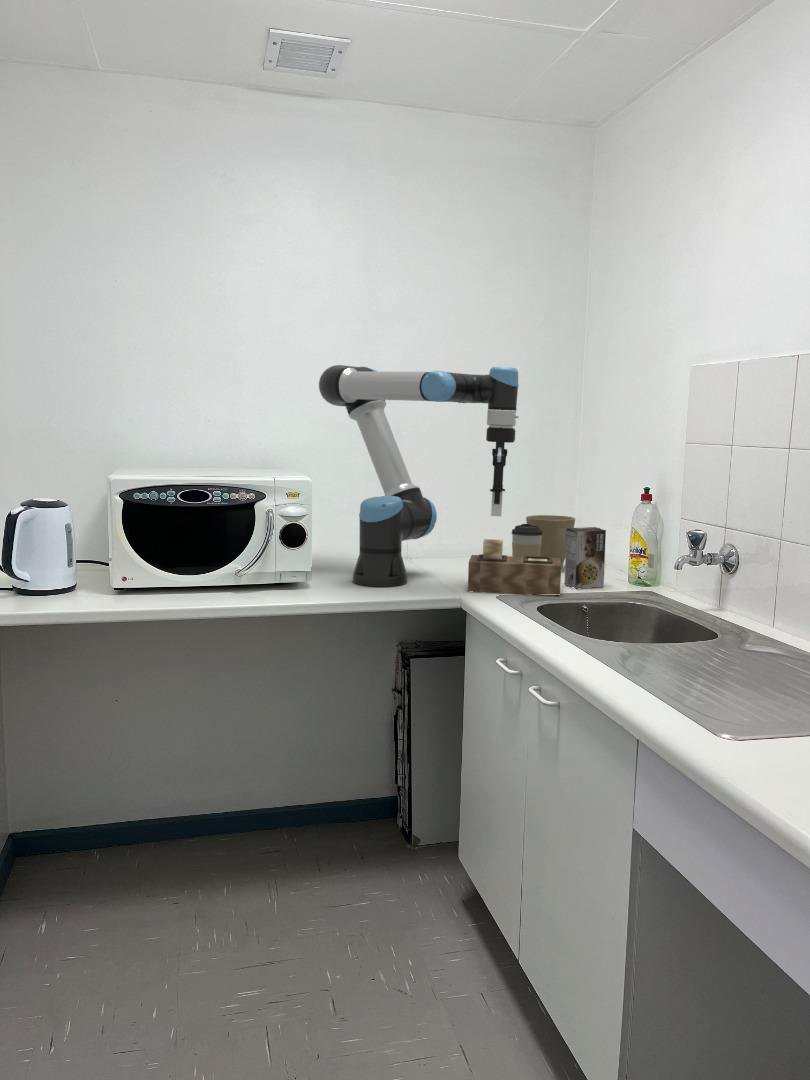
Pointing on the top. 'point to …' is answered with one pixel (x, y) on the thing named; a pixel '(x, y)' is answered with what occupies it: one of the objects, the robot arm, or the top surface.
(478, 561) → the walnut block
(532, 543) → the coffee cup
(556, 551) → the plant pot
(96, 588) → the top surface
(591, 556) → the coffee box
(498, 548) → the dowel
